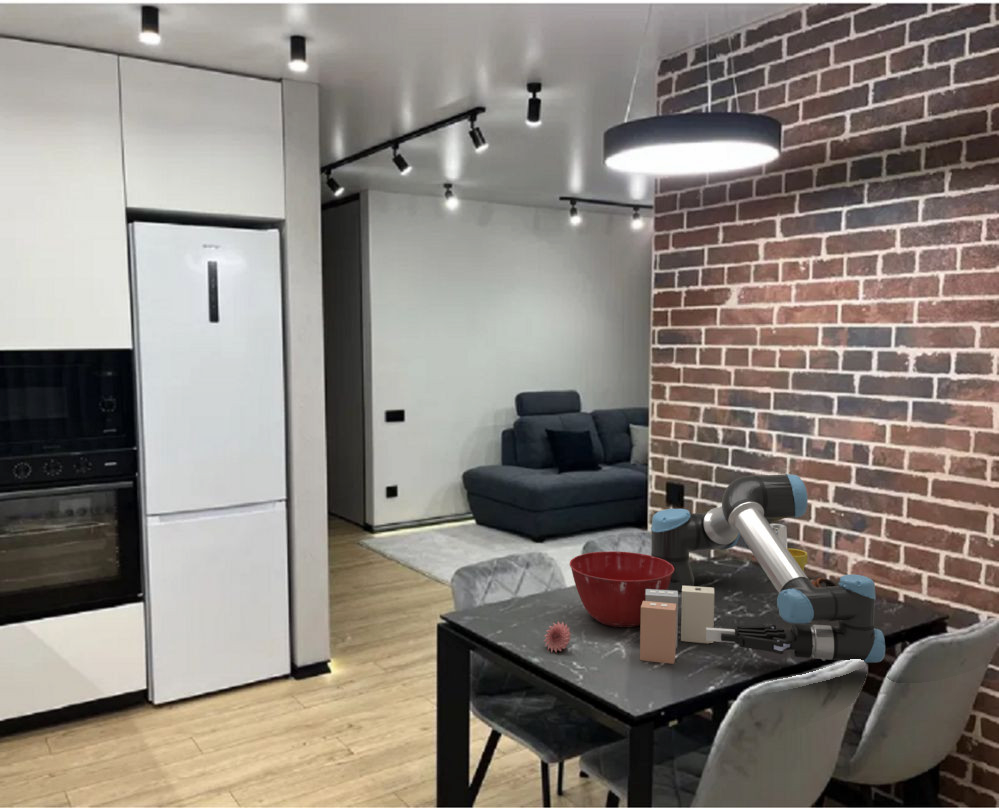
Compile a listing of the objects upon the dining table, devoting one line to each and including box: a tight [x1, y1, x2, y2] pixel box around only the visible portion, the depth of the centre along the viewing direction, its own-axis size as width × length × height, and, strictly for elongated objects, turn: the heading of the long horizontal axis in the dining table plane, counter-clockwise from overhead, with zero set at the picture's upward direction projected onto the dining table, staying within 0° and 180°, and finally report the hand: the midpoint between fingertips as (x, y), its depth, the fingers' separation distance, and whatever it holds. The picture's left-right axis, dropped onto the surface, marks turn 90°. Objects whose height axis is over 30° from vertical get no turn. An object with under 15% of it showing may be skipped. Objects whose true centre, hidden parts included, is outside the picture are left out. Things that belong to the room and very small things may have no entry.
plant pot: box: [786, 547, 808, 573], centre depth 257 cm, size 10×10×10 cm
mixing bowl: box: [569, 550, 674, 628], centre depth 222 cm, size 28×28×16 cm
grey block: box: [645, 589, 679, 649], centre depth 204 cm, size 8×5×13 cm, turn 79°
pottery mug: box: [811, 577, 838, 588], centre depth 237 cm, size 12×10×8 cm
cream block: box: [680, 585, 715, 644], centre depth 207 cm, size 8×5×13 cm, turn 76°
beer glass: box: [770, 523, 788, 547], centre depth 271 cm, size 7×7×15 cm
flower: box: [543, 621, 572, 653], centre depth 200 cm, size 8×8×6 cm
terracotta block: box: [639, 601, 677, 665], centre depth 195 cm, size 8×5×13 cm, turn 74°
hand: (706, 634), depth 192 cm, fingers closed
